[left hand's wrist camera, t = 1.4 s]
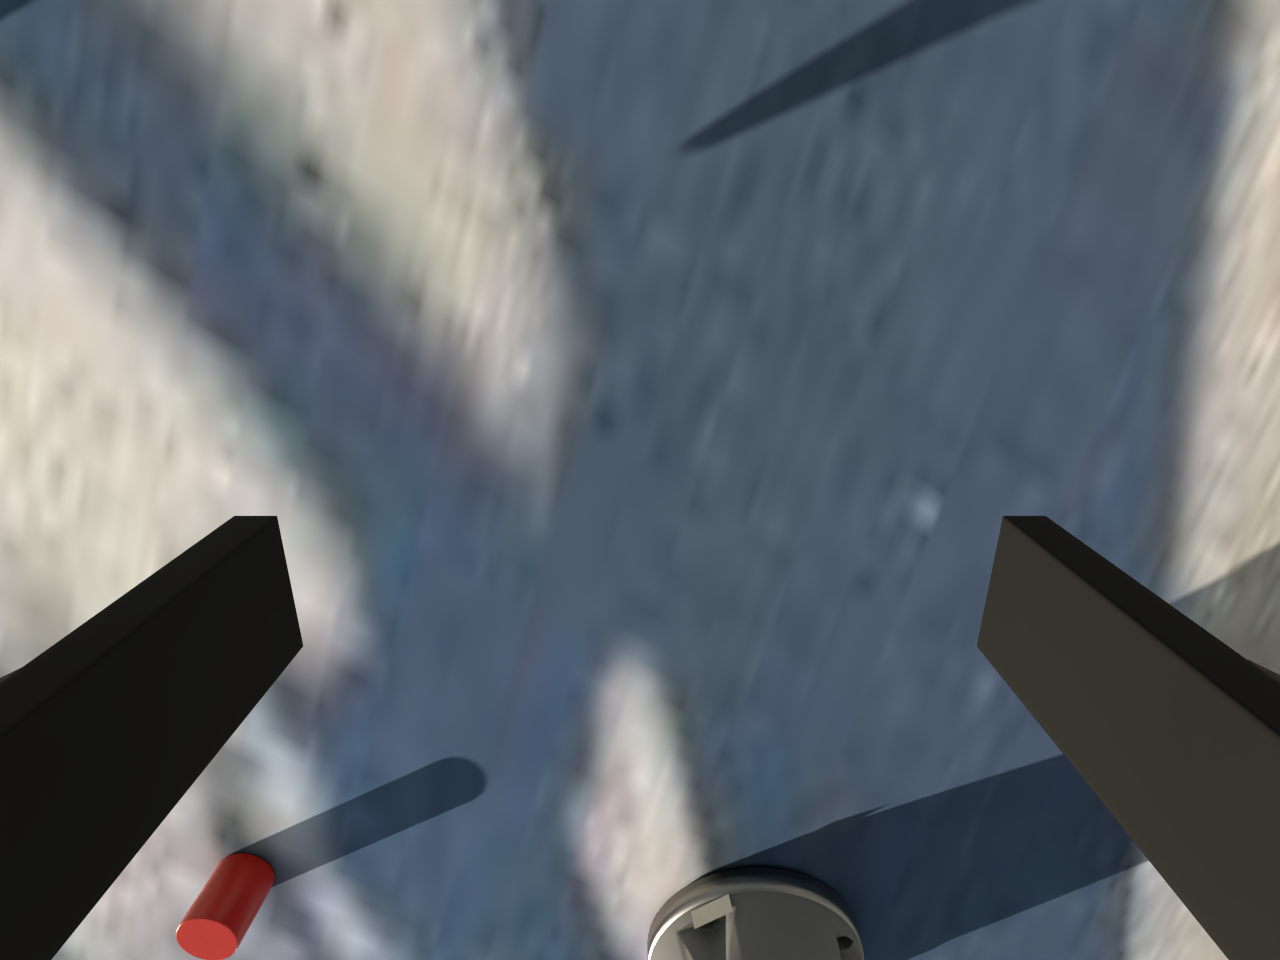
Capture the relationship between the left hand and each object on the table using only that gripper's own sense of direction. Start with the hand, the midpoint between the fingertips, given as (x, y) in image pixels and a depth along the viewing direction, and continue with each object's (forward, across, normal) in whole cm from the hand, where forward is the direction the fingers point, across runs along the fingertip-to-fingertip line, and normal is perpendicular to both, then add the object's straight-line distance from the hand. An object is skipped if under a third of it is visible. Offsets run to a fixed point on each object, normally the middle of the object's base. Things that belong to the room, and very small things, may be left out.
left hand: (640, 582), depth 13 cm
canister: (+24, +28, +36) cm, 51 cm away
